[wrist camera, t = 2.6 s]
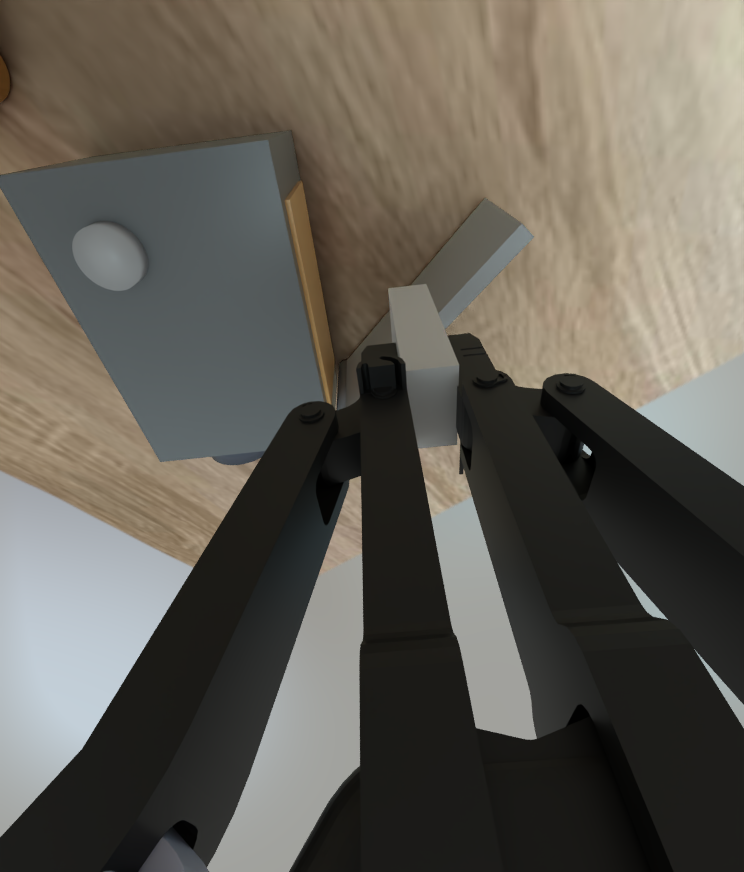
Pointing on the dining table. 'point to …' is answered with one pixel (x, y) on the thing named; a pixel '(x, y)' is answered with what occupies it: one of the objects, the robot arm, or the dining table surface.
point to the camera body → (190, 285)
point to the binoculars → (4, 80)
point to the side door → (451, 278)
